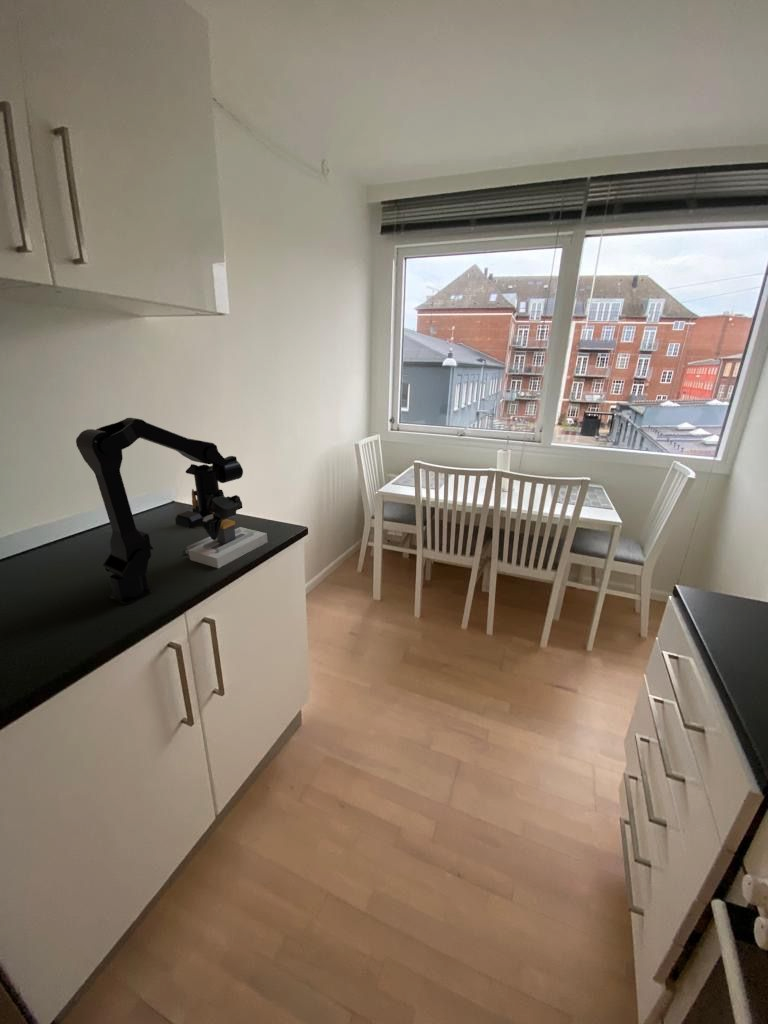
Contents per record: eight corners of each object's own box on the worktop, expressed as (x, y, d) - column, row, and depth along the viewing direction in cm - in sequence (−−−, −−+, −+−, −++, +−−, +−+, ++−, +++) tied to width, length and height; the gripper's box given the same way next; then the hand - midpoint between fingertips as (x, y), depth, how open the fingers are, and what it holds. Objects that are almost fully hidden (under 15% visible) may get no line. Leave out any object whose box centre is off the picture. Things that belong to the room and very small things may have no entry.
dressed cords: (189, 555, 122) (188, 550, 122) (181, 552, 124) (180, 548, 123) (231, 535, 136) (231, 531, 136) (224, 533, 138) (224, 529, 137)
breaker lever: (225, 545, 121) (223, 526, 119) (216, 542, 123) (214, 523, 120) (236, 539, 125) (234, 521, 123) (228, 537, 126) (226, 519, 124)
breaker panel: (218, 568, 115) (216, 555, 114) (190, 559, 120) (188, 547, 118) (267, 542, 132) (266, 530, 131) (241, 535, 136) (239, 524, 135)
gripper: (200, 501, 103) (208, 558, 108) (254, 482, 118) (259, 533, 124) (169, 494, 107) (178, 549, 113) (225, 477, 123) (231, 526, 128)
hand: (214, 539), depth 119 cm, fingers closed
